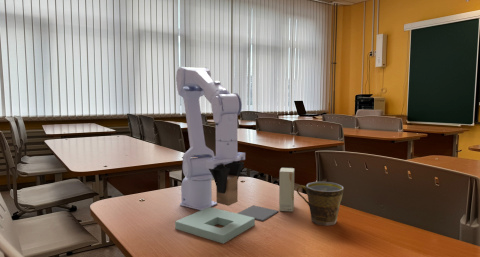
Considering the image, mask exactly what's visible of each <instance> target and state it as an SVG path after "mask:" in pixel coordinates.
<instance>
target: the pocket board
mask: <svg viewBox="0 0 480 257" xmlns="http://www.w3.org/2000/svg"><path fill="white" fill-rule="evenodd" d="M237 213H238V212H232V211H228V210H225V209H220V208H215V207H213V206H211V207H208V208H205V209H203V210H198V211H196V212H194V213H191V214H189V215H187V216H185V217H182V218H179V219H177V220H175V222H174V226H175V229H176V230H177V231H181V232H185V233H187V234H192V235H194V236H197V237H201V238H204V239H207V240H211V241H214V242H215V243H216V242H217V243H220V244H225V243H227V242H229V241H230V240H233V239H234V238H235V237H237V236H238V235H240V234H242V233H244V232H246V231H247V230H249V229H250V228H252V227H254V226H255V225H256V220H255V218H253V217H249V216H245V215H241V214H237ZM216 225H220V226H223V227H218V226H216Z"/></svg>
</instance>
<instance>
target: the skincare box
mask: <svg viewBox="0 0 480 257" xmlns="http://www.w3.org/2000/svg"><path fill="white" fill-rule="evenodd" d="M278 176H279V177H278V178H279V182H278V183H279V191H278V192H279V194H278V195H279V200H278V201H279V202H278V204H279V205H278V212H279V211H281V212H294V208H295V168H293V167H281V168H280V169H279V175H278Z"/></svg>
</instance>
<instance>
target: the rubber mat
mask: <svg viewBox="0 0 480 257" xmlns="http://www.w3.org/2000/svg"><path fill="white" fill-rule="evenodd" d="M236 213H237V214H241V215H245V216H249V217H253V218H255V221H260V222H264V221H266V220H267V219H269V218H271V217H273V216H275V215H276V214H277V213H279V210H277V209H276V210H275V209H271V208H267V207H261V206H259V205H251V206H248V207H247V208H245V209H243V210H241V211H239V212H236Z"/></svg>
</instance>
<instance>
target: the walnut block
mask: <svg viewBox="0 0 480 257" xmlns="http://www.w3.org/2000/svg"><path fill="white" fill-rule="evenodd" d="M238 180H239V178H238V176H234V175H228V176H227V183H226V192H225V193H219V192H218V191H217V187H216V190H215V191H216V192H215V194H216V195H215V196H216V202H217V204H219V205H224V206H227V207H229V206H231V205H233V204H236V203H238V199H239V198H238V195H239V194H238V193H239V192H238V191H239V190H238V188H239V187H238V186H239V184H238V182H239V181H238Z"/></svg>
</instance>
